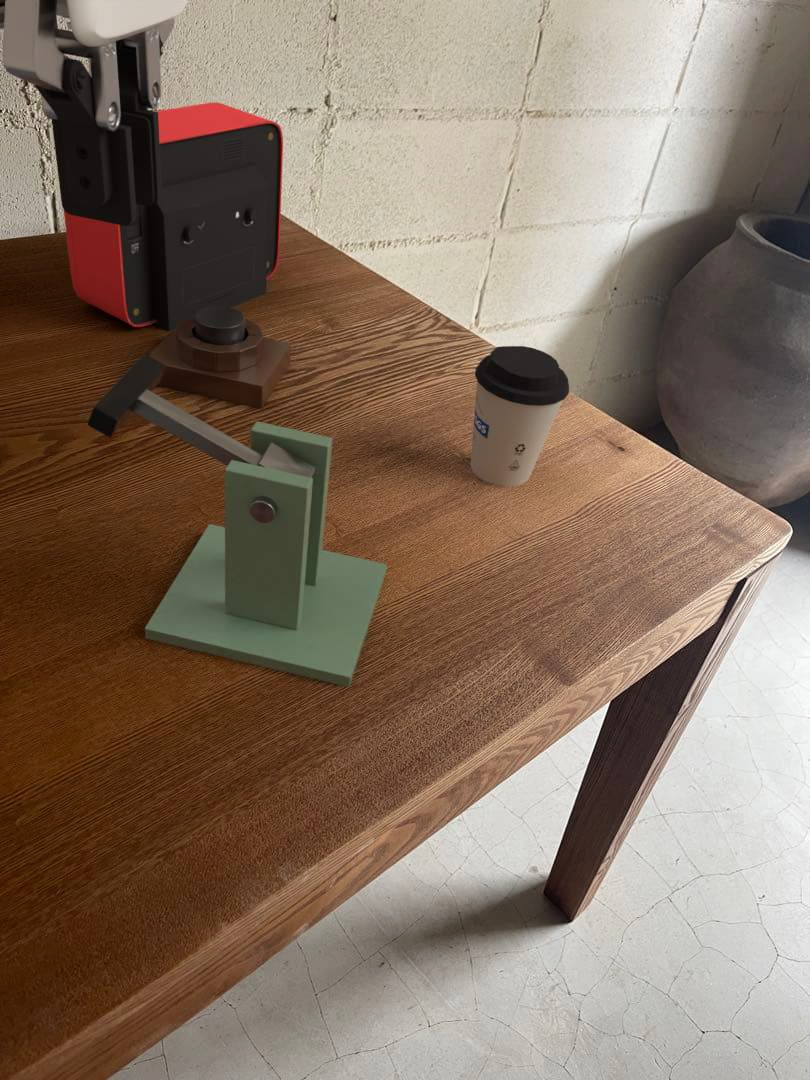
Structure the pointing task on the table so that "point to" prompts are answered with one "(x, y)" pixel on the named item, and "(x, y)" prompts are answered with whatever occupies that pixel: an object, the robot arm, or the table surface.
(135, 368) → the lever
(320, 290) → the table surface
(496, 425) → the coffee cup
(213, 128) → the alarm clock
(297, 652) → the bracket
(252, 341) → the button box
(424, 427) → the table surface
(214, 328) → the button
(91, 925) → the table surface
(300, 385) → the table surface
